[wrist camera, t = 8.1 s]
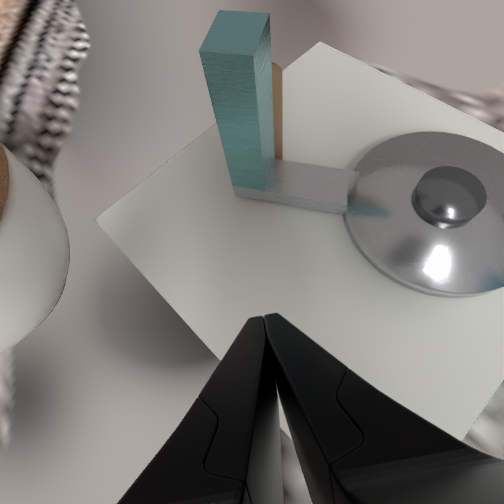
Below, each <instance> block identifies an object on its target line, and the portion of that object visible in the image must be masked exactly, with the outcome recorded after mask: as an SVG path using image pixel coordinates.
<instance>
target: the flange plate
mask: <svg viewBox="0 0 504 504" xmlns="http://www.w3.org/2000/svg"><path fill="white" fill-rule="evenodd" d="M199 53H200V57H201V61H202V65H203V69H204V73H205V78H206V81H207V86H208V90H209V94H210V97H211V102H212V106H213V110H214V114H215V118H216V122H217V126H218V130H219V134H220V138H221V142H222V146H223V150H224V154H225V158H226V162H227V166H228V170H229V174H230V179H231V183H232V187H233V191H234V195H235V196H241V197H247V198H252V199H258V200H264V201H269V202H275V203H281V204H286V205H292V206H298V207H303V208H309V209H315V210H320V211H326V212H332V213H337V214H343V215H344V218H345V223H346V227H347V229H348V232H349V235H350V237H351V239H352V241H353V243H354V244H355V246H356V248H357V249H358V250H359V252H360V253H361V255H362V256H363V257H364V258H365V259H366V260H367V261H368V262H369V263H370V264H371V265H372V266H373V267H374V268H375V269H376V270H378V271H379V272H380V273H381V274H383V275H384V276H386V277H387V278H389V279H390V280H392V281H393V282H395V283H397V284H399V285H401V286H403V287H405V288H408V289H410V290H413V291H415V292H418V293H422V294H426V295H430V296H435V297H442V298H470V297H476V296H480V295H485V294H487V293H490V292H493V291H496V290H498V289H500V288H502V287H504V153H502V152H500V151H499V150H497V149H495V148H493V147H492V146H489V145H487V144H485V143H483V142H481V141H478V140H475V139H472V138H470V137H466V136H462V135H458V134H453V133H447V132H435V131H429V132H414V133H408V134H404V135H400V136H397V137H394V138H391V139H388V140H386V141H384V142H382V143H380V144H379V145H377V146H375V147H374V148H372V149H371V150H370V151H369V152H368V153H366V154H365V155H364V156H363V158H362V159H361V160H360V161H359V162H358V164H357V165H356V167H355V168H354V170H346V169H339V168H333V167H326V166H319V165H313V164H306V163H299V162H293V161H286V160H279V159H275V150H274V122H273V93H272V65H271V37H270V14H269V13H256V12H239V11H222V10H219V11H218V13H217V15H216V17H215V20H214V21H213V23H212V25H211V28H210V30H209V32H208V34H207V36H206V38H205V40H204V42H203V44H202V46H201V48H200V50H199Z"/></svg>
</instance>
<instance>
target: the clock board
mask: <svg viewBox="0 0 504 504" xmlns="http://www.w3.org/2000/svg"><path fill="white" fill-rule="evenodd" d="M271 65H272V93H273V122H274V150H275V159H279V160H286V161H293V162H299V163H306V164H313V165H319V166H326V167H333V168H339V169H346V170H354V168H355V167H356V165H357V164H358V162H359V161H360V160H361V159H362V158H363V156H364V155H365V154H366V153H368V152H369V151H370V150H371V149H372V148H374V147H375V146H377V145H379V144H380V143H382V142H384V141H386V140H388V139H391V138H394V137H397V136H400V135H404V134H408V133H414V132H429V131H435V132H447V133H453V134H458V135H462V136H466V137H470V138H472V139H475V140H478V141H481V142H483V143H485V144H487V145H489V146H492V147H493V148H495V149H497V150H499V151H500V152H502V153H504V133H503V132H501V131H499V130H497V129H495V128H493V127H491V126H489V125H487V124H485V123H483V122H481V121H479V120H477V119H475V118H473V117H471V116H469V115H467V114H465V113H463V112H461V111H459V110H457V109H455V108H453V107H451V106H449V105H447V104H445V103H443V102H441V101H439V100H437V99H435V98H433V97H431V96H429V95H427V94H425V93H423V92H421V91H419V90H417V89H415V88H413V87H411V86H409V85H407V84H405V83H403V82H401V81H399V80H397V79H395V78H393V77H391V76H389V75H387V74H385V73H383V72H381V71H379V70H377V69H375V68H373V67H371V66H369V65H366V64H364V63H362V62H360V61H358V60H356V59H354V58H352V57H350V56H348V55H346V54H344V53H342V52H340V51H338V50H336V49H334V48H332V47H330V46H328V45H326V44H324V43H322V42H318V43H317V44H316V45H315V46H313V47H312V48H311V49H310V50H308V51H307V52H306V53H305V54H303V55H302V56H301V57H299V58H298V59H297V60H296V61H294V62H293V63H292V64H291V65H289V66H288V67H287V68H286V69H284V70H283V71H282V70H281V68H280V67H279V66H278V65H277V64H275V63H272V62H271ZM94 221H95V222H96V223H97V224H98V225H99V226H100V227H101V229H102V230H103V231H104V232H105V233H106V234H107V235H108V236H109V238H110V239H111V240H112V241H113V242H114V243H115V244H116V245H117V246H118V247H119V249H120V250H121V251H122V252H123V253H124V254H125V255H126V256H127V257H128V259H129V260H130V261H131V262H132V263H133V264H134V265H135V266H136V268H137V269H138V270H139V271H140V272H141V273H142V274H143V275H144V276H145V278H146V279H147V280H148V281H149V282H150V283H151V284H152V285H153V286H154V287H155V289H156V290H157V291H158V292H159V293H160V294H161V295H162V296H163V297H164V299H165V300H166V301H167V302H168V303H169V304H170V305H171V306H172V307H173V309H174V310H175V311H176V312H177V313H178V314H179V315H180V316H181V317H182V319H183V320H184V321H185V322H186V323H187V324H188V325H189V326H190V327H191V329H192V330H193V331H194V332H195V333H196V334H197V335H198V336H199V338H200V339H201V340H202V341H203V342H204V343H205V344H206V345H207V346H208V348H209V349H210V350H211V351H212V352H213V353H214V354H215V355H216V356H217V357H218V359H220V361H221V360H222V358H223V357H224V355H225V354H226V352H227V351H228V349H229V348H230V346H231V344H232V343H233V341H234V340H235V338H236V337H237V335H238V334H239V332H240V330H241V329H242V327H243V326H244V324H245V323H246V321H247V320H248V318H250V317H256V316H263V318H264V315H266V314H271V313H279V314H280V315H281V316H283V317H284V318H285V319H287V320H288V321H289V322H291V323H292V324H293V325H294V326H296V327H297V328H298V329H300V330H301V331H302V332H303V333H305V334H306V335H307V336H309V337H310V338H311V339H312V340H314V341H315V342H316V343H318V344H319V345H320V346H321V347H323V348H324V349H325V350H327V351H328V352H329V353H330V354H332V355H333V356H334V357H336V358H337V359H338V360H339V361H341V362H342V363H343V364H345V365H346V366H347V367H348V368H349V369H351V370H352V371H354V372H355V373H356V374H358V375H359V376H360V377H362V378H363V379H364V380H366V381H367V382H368V383H370V384H371V385H373V386H374V387H375V388H377V389H378V390H380V391H381V392H383V393H384V394H386V395H387V396H389V397H390V398H392V399H393V400H395V401H397V402H398V403H400V404H401V405H403V406H405V407H406V408H408V409H409V410H411V411H413V412H414V413H416V414H418V415H419V416H421V417H422V418H424V419H426V420H427V421H429V422H431V423H432V424H434V425H436V426H437V427H439V428H440V429H442V430H444V431H445V432H447V433H449V434H450V435H452V436H454V437H455V438H457V439H458V440H460V441H462V440H463V438H464V437H465V436H466V434H467V433H468V431H469V430H470V428H471V427H472V425H473V424H474V422H475V421H476V419H477V418H478V416H479V415H480V414H481V412H482V411H483V409H484V408H485V406H486V405H487V403H488V402H489V400H490V399H491V397H492V396H493V394H494V393H495V392H496V390H497V389H498V387H499V386H500V384H501V383H502V381H503V380H504V287H502V288H500V289H498V290H496V291H493V292H490V293H487V294H485V295H480V296H476V297H470V298H442V297H435V296H430V295H426V294H422V293H418V292H415V291H413V290H410V289H408V288H405V287H403V286H401V285H399V284H397V283H395V282H393V281H392V280H390V279H389V278H387V277H386V276H384V275H383V274H381V273H380V272H379V271H378V270H376V269H375V268H374V267H373V266H372V265H371V264H370V263H369V262H368V261H367V260H366V259H365V258H364V257H363V256H362V255H361V253H360V252H359V250H358V249H357V248H356V246H355V244H354V243H353V241H352V239H351V237H350V235H349V232H348V229H347V227H346V223H345V218H344V215H343V214H337V213H332V212H326V211H320V210H315V209H309V208H303V207H298V206H292V205H286V204H281V203H275V202H269V201H264V200H258V199H252V198H247V197H241V196H235V195H234V191H233V187H232V183H231V179H230V174H229V170H228V166H227V162H226V158H225V154H224V150H223V146H222V142H221V138H220V134H219V130H218V126H217V123H216V124H214V125H213V126H212V127H211V128H209V129H208V130H207V131H206V132H204V133H203V134H202V135H200V136H199V137H198V138H197V139H196V140H194V141H193V142H192V143H191V144H189V145H188V146H187V147H185V148H184V149H183V150H181V151H180V152H179V153H178V154H176V155H175V156H174V157H173V158H172V159H170V160H169V161H168V162H166V163H165V164H164V165H163V166H161V167H160V168H159V169H157V170H156V171H155V172H154V173H152V174H151V175H150V176H148V177H147V178H146V179H145V180H144V181H142V182H141V183H140V184H138V185H137V186H136V187H135V188H133V189H132V190H131V191H130V192H128V193H127V194H126V195H124V196H123V197H122V198H121V199H119V200H118V201H117V202H116V203H114V204H113V205H112V206H110V207H109V208H108V209H107V210H106V211H104V212H103V213H102V214H100V215H99V216H98V217H97V218H95V219H94ZM277 393H278V390H277ZM278 402H279V420H280V428H281V429H282V430H283V431H284V432H285V433H286V434H287V435H288V436H289V438H290V439H291V440H292V437H291V434H290V431H289V428H288V424H287V421H286V418H285V415H284V412H283V409H282V406H281V402H280V399H279V395H278ZM292 441H293V440H292Z"/></svg>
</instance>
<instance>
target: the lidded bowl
mask: <svg viewBox="0 0 504 504" xmlns="http://www.w3.org/2000/svg"><path fill="white" fill-rule="evenodd" d="M69 261H70V246H69V238H68V233H67V228H66V226H65V223H64V221H63V218H62V216H61V213H60V211H59V208H58V207H57V205H56V204H55V202H54V201H53V199H52V198H51V196H50V195H49V193H48V192H47V190H46V189H45V187H44V186H43V185H42V183H41V182H40V181H39V180H38V179H37V178H36V176H35V175H34V174H33V173H32V172H31V171H30V170H29V169H28V168H27V167H26V166H25V165H24V164H23V163H22V162H21V161H20V160H19V159H18V158H17V157H16V156H15V155H14V154H13V153H11V152H10V151H9V150H8V149H7V148H6V147H5V146H4V145H3V144H1V143H0V354H1V353H3V352H5V351H6V350H8V349H10V348H11V347H13V346H14V345H16V344H17V343H18V342H20V341H21V340H22V339H23V338H25V337H26V336H27V335H28V334H29V333H30V332H31V331H32V330H33V329H34V328H36V327H37V326H38V325H39V324H40V323H41V322H42V321H44V319H46V317H47V316H48V315H49V314H50V313H51V311H52V310H53V308H54V307H55V306H56V304H57V303H58V301H59V299H60V297H61V295H62V292H63V289H64V286H65V281H66V276H67V273H68V267H69Z"/></svg>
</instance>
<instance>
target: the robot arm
mask: <svg viewBox="0 0 504 504" xmlns="http://www.w3.org/2000/svg"><path fill="white" fill-rule="evenodd" d="M277 390H278V393H277ZM278 395H279V399H280V402H281V406H282V409H283V412H284V415H285V418H286V421H287V424H288V428H289V431H290V434H291V437H292V440H293V443H294V446H295V450H296V453H297V456H298V459H299V462H300V465H301V468H302V472H303V475H304V478H305V481H306V484H307V487H308V490H309V494H310V497H311V500H312V503H313V504H504V460H503V459H499V458H496V457H493V456H491V455H488V454H485V453H483V452H481V451H479V450H477V449H475V448H473V447H471V446H469V445H467V444H465V443H464V442H462V441H460V440H458V439H457V438H455V437H454V436H452V435H450V434H449V433H447V432H445V431H444V430H442V429H440V428H439V427H437V426H436V425H434V424H432V423H431V422H429V421H427V420H426V419H424V418H422V417H421V416H419V415H418V414H416V413H414V412H413V411H411V410H409V409H408V408H406V407H405V406H403V405H401V404H400V403H398V402H397V401H395V400H393V399H392V398H390V397H389V396H387V395H386V394H384V393H383V392H381V391H380V390H378V389H377V388H375V387H374V386H373V385H371V384H370V383H368V382H367V381H366V380H364V379H363V378H362V377H360V376H359V375H358V374H356V373H355V372H354V371H352V370H351V369H349V368H348V367H347V366H346V365H345V364H343V363H342V362H341V361H339V360H338V359H337V358H336V357H334V356H333V355H332V354H330V353H329V352H328V351H327V350H325V349H324V348H323V347H321V346H320V345H319V344H318V343H316V342H315V341H314V340H312V339H311V338H310V337H309V336H307V335H306V334H305V333H303V332H302V331H301V330H300V329H298V328H297V327H296V326H294V325H293V324H292V323H291V322H289V321H288V320H287V319H285V318H284V317H283V316H281V315H280V314H279V313H271V314H266V315H264V318H263V316H256V317H250V318H248V320H247V321H246V323H245V324H244V326H243V327H242V329H241V330H240V332H239V334H238V335H237V337H236V338H235V340H234V341H233V343H232V344H231V346H230V348H229V349H228V351H227V352H226V354H225V355H224V357H223V358H222V360H221V362H220V363H219V365H218V366H217V368H216V369H215V371H214V372H213V374H212V375H211V377H210V379H209V380H208V382H207V383H206V385H205V386H204V388H203V389H202V391H201V393H200V394H199V396H198V398H197V399H196V400H195V402H194V403H193V405H192V406H191V408H190V409H189V411H188V412H187V414H186V415H185V417H184V418H183V420H182V421H181V422H180V424H179V426H178V427H177V428H176V430H175V431H174V432H173V434H172V435H171V436H170V437H169V439H168V440H167V441H166V443H165V444H164V445H163V447H162V448H161V449H160V450H159V452H158V453H157V454H156V455H155V457H154V458H153V459H152V461H151V462H150V463H149V464H148V465H147V467H146V468H145V469H144V470H143V472H142V473H141V474H140V475H139V477H138V478H137V479H136V480H135V482H134V483H133V484H132V485H131V487H130V488H129V489H128V490H127V492H126V493H125V494H124V495H123V497H122V498H121V499H120V500H119V502H118V503H117V504H284V497H283V478H282V458H281V439H280V420H279V402H278Z"/></svg>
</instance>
